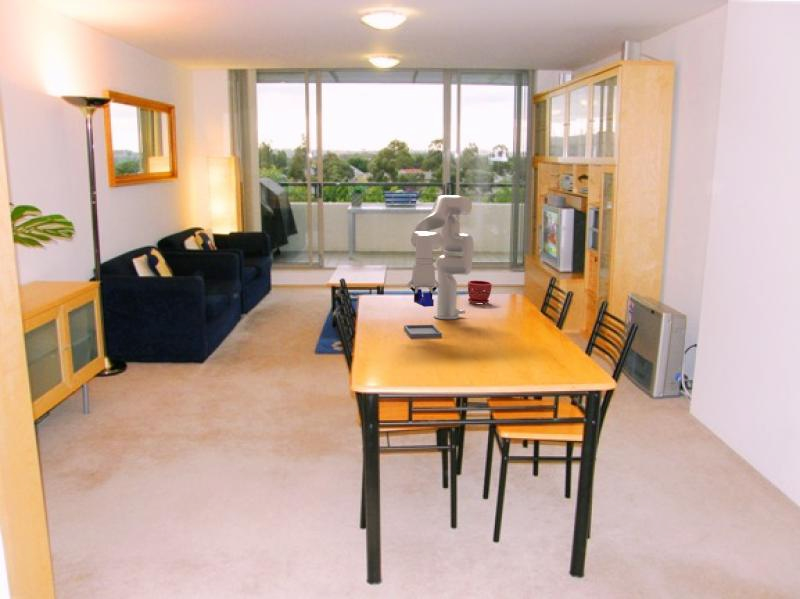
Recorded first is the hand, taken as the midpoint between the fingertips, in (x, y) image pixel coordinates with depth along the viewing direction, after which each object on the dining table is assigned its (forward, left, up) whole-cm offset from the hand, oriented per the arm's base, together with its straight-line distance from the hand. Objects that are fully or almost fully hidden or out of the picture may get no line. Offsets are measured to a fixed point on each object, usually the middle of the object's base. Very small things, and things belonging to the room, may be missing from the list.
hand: (423, 301), depth 325 cm
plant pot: (-46, -70, -15) cm, 85 cm away
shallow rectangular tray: (0, 0, -15) cm, 15 cm away
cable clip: (0, +1, -1) cm, 1 cm away
